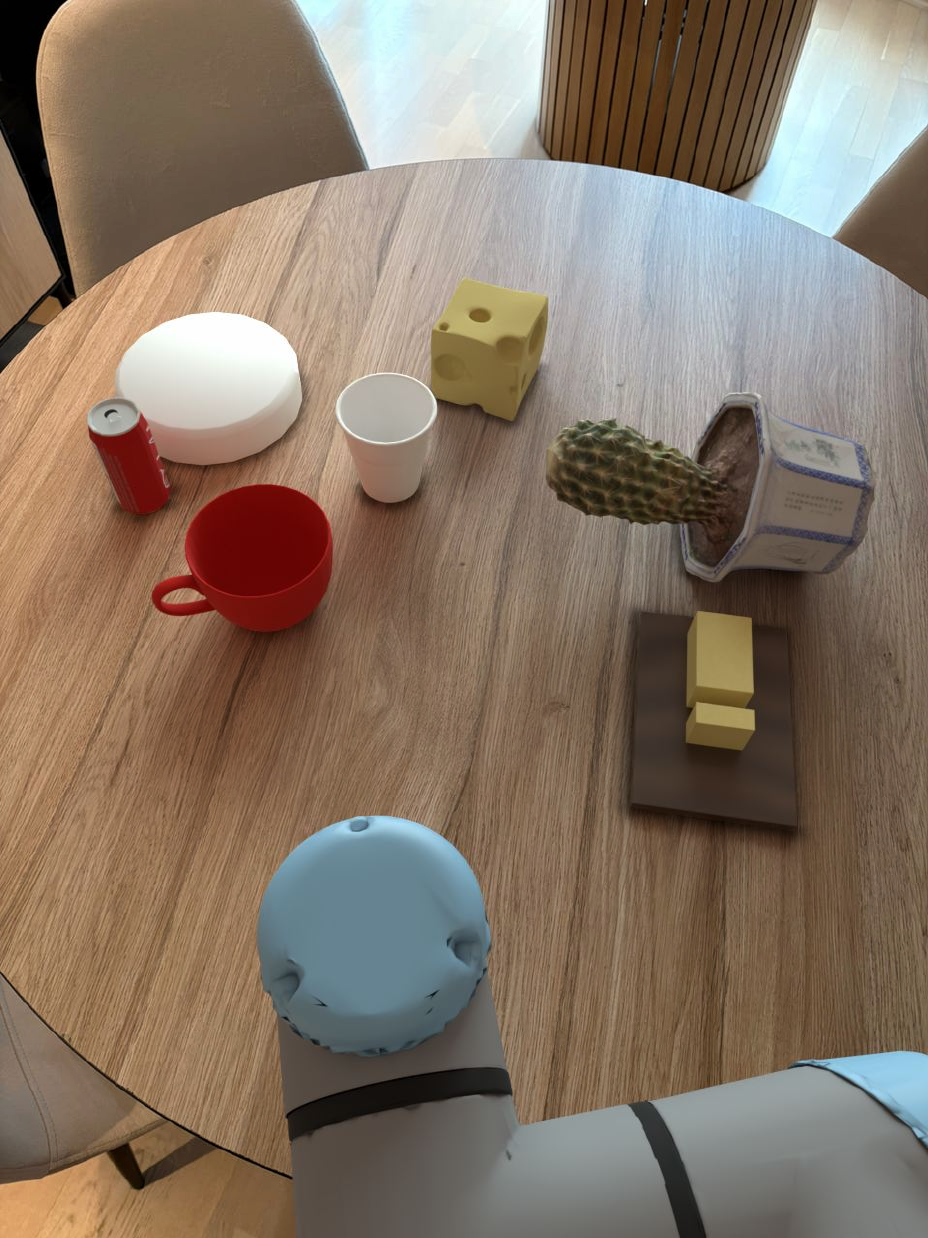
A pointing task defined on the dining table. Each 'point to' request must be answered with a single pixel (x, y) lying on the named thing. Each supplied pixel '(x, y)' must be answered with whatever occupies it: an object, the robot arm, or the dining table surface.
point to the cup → (387, 432)
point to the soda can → (128, 455)
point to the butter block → (720, 660)
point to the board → (708, 775)
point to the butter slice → (720, 726)
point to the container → (212, 386)
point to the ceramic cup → (255, 558)
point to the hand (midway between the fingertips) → (405, 1088)
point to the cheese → (488, 346)
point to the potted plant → (726, 488)
